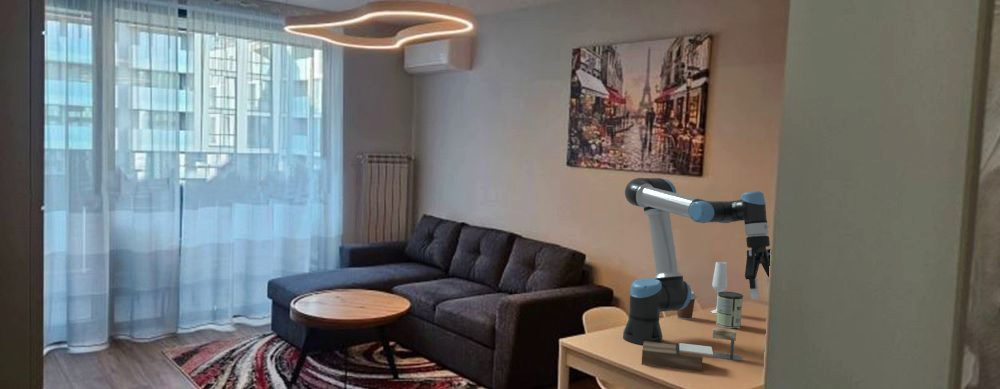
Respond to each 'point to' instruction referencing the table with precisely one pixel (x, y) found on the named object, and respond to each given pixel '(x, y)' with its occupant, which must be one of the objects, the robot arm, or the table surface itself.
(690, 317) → the coffee cup
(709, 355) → the tile
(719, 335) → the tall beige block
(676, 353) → the flip board
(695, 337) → the table surface
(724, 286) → the champagne flute
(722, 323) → the coffee can
